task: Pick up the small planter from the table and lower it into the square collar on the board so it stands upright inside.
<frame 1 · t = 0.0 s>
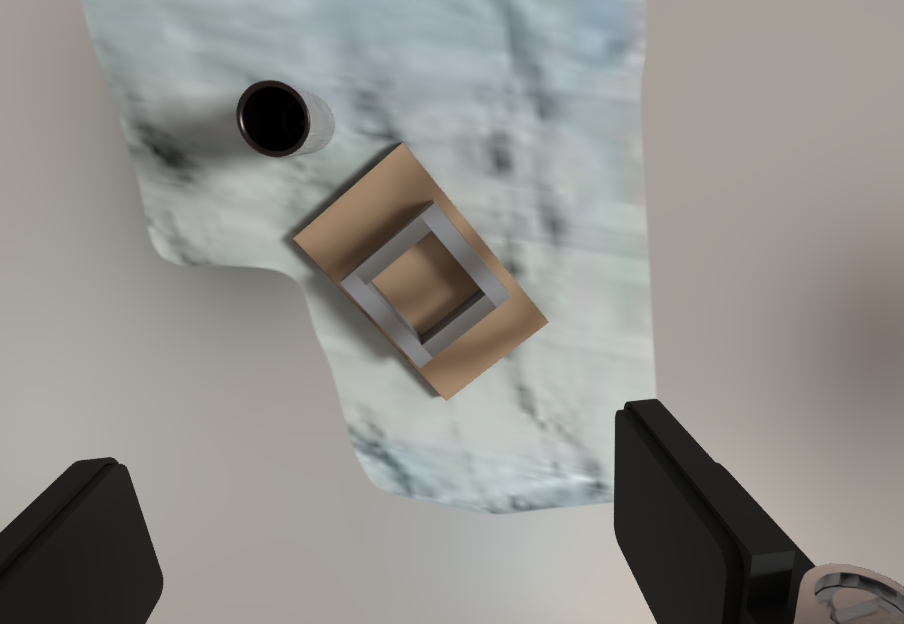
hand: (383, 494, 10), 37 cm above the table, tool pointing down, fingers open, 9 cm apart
socket board: (425, 278, 47), on the table
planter: (306, 123, 43), on the table
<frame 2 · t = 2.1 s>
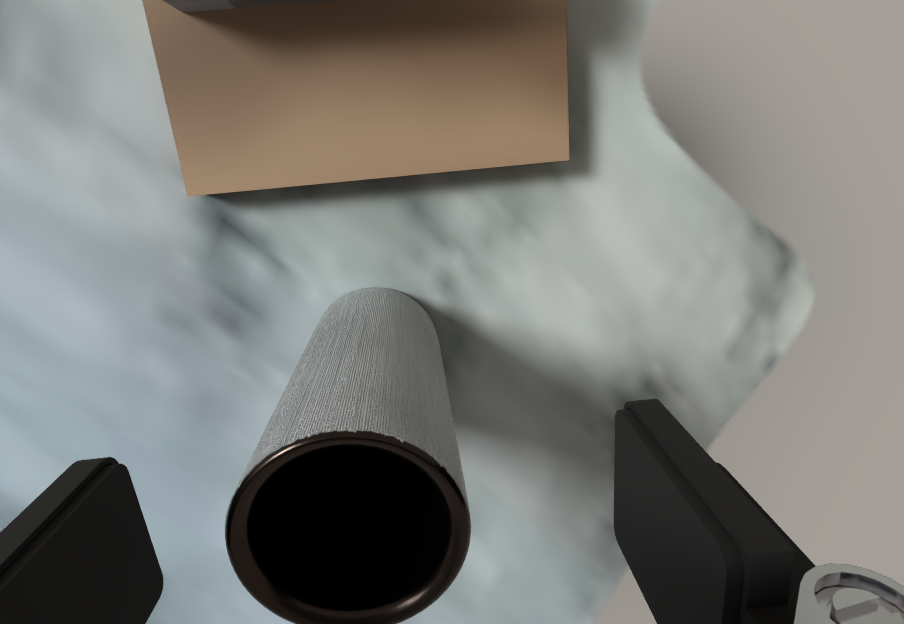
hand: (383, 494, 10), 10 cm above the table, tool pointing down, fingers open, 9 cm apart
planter: (377, 343, 20), on the table
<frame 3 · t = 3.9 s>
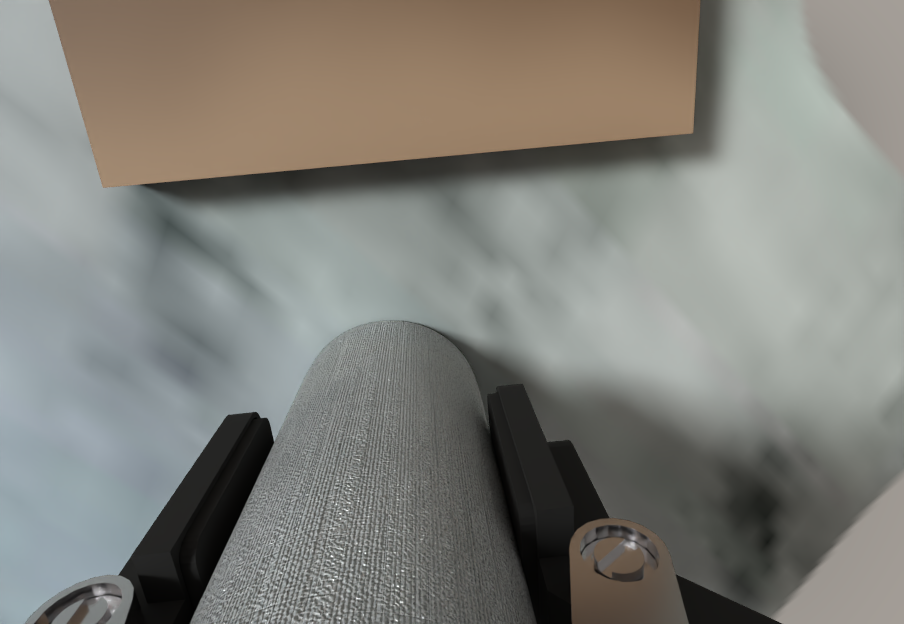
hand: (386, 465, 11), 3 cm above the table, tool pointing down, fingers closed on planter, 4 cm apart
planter: (392, 396, 14), on the table, touching gripper
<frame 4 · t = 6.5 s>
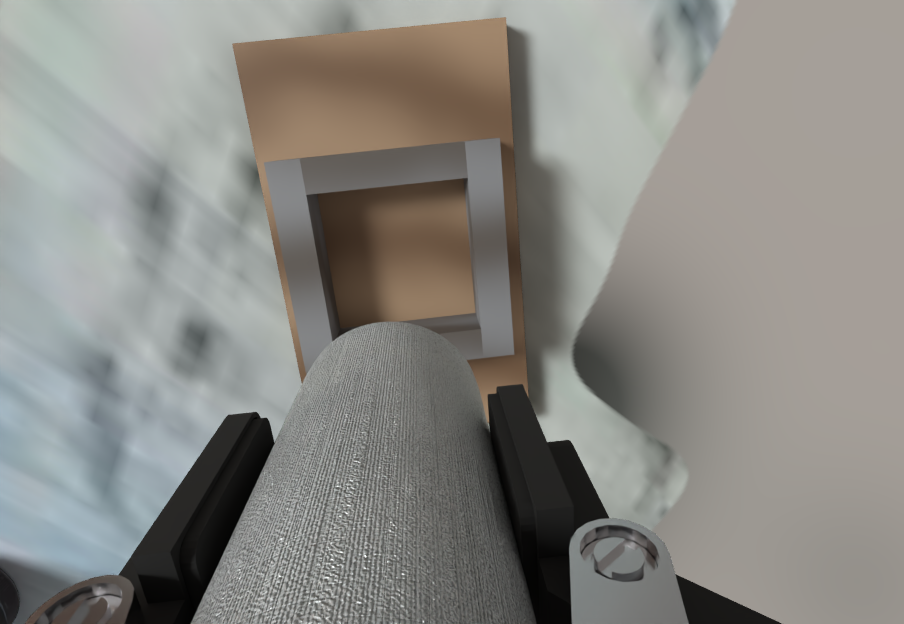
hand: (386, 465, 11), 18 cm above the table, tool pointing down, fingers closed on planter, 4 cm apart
socket board: (400, 249, 28), on the table
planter: (392, 398, 14), point 15 cm above the table, touching gripper
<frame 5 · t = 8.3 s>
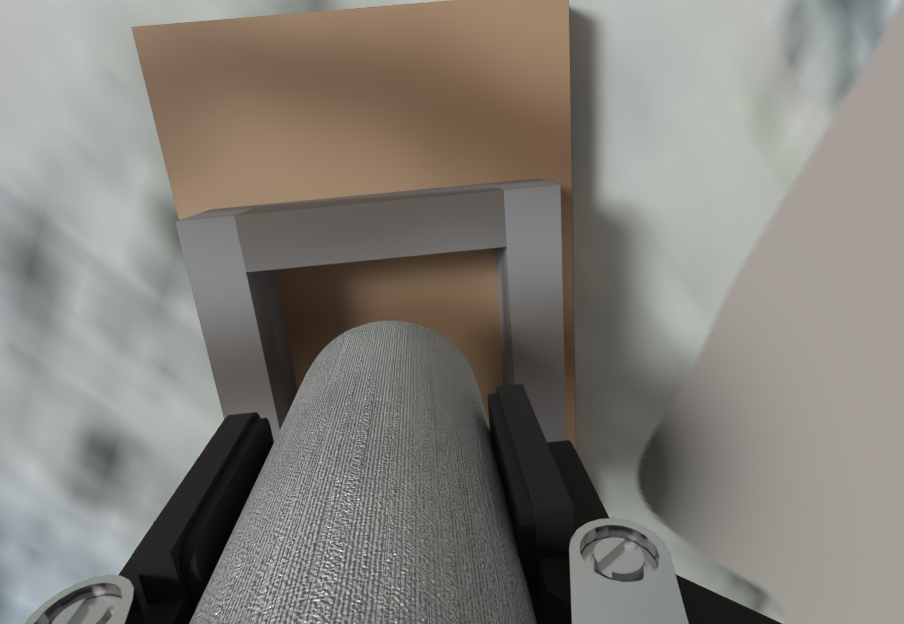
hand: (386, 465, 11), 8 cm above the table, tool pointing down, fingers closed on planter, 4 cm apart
socket board: (397, 333, 19), on the table
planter: (392, 397, 14), point 5 cm above the table, touching gripper
when the fingers open (5 cm above the table, at t = 9.6 s): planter drops 1 cm, resting on socket board.
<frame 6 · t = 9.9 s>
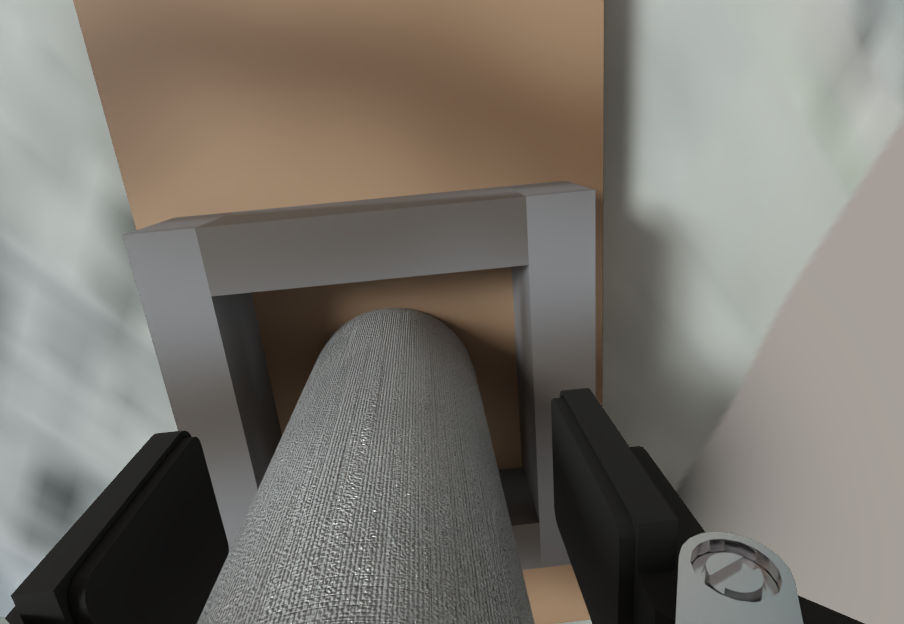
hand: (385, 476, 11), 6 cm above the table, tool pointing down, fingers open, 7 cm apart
socket board: (396, 359, 16), on the table
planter: (396, 377, 15), point 1 cm above the table, touching socket board
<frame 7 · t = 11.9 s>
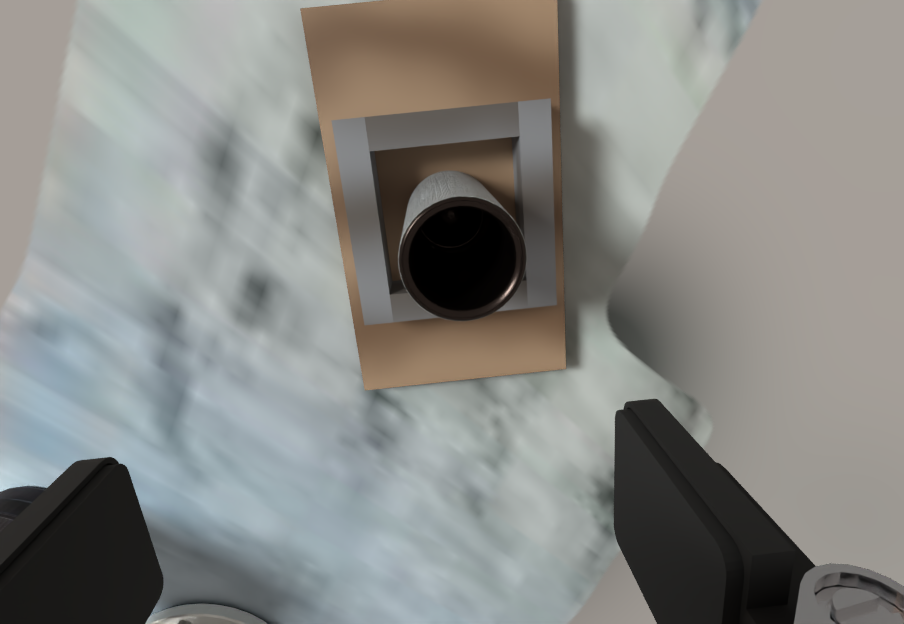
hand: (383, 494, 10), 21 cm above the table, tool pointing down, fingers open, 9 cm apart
camera lens: (39, 524, 35), on the table
socket board: (448, 207, 29), on the table
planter: (449, 213, 28), point 1 cm above the table, touching socket board
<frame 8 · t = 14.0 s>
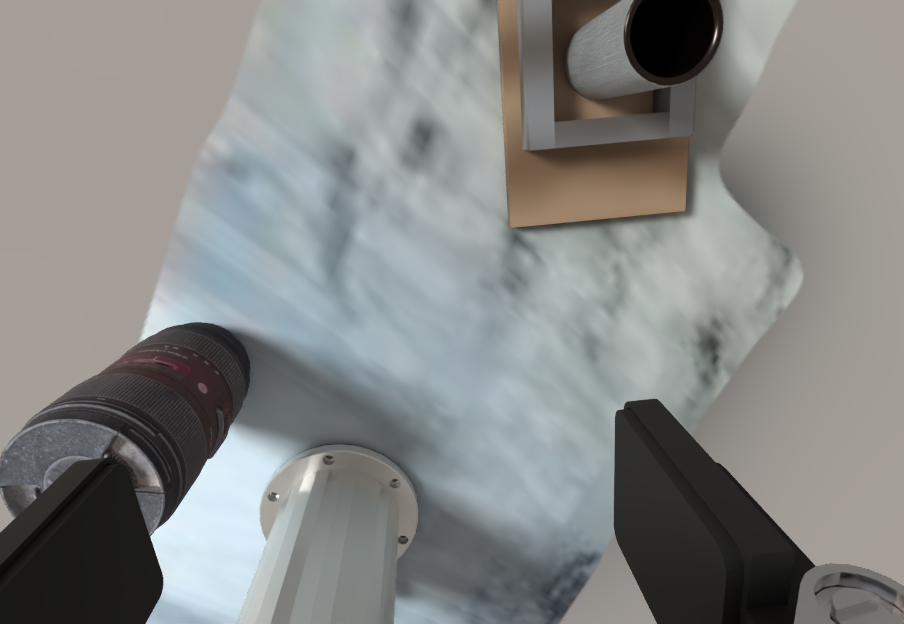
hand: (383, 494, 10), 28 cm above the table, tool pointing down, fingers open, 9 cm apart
camera lens: (204, 362, 39), on the table
socket board: (592, 60, 34), on the table
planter: (597, 61, 33), point 1 cm above the table, touching socket board
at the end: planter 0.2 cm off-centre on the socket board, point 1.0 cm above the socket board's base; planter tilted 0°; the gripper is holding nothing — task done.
